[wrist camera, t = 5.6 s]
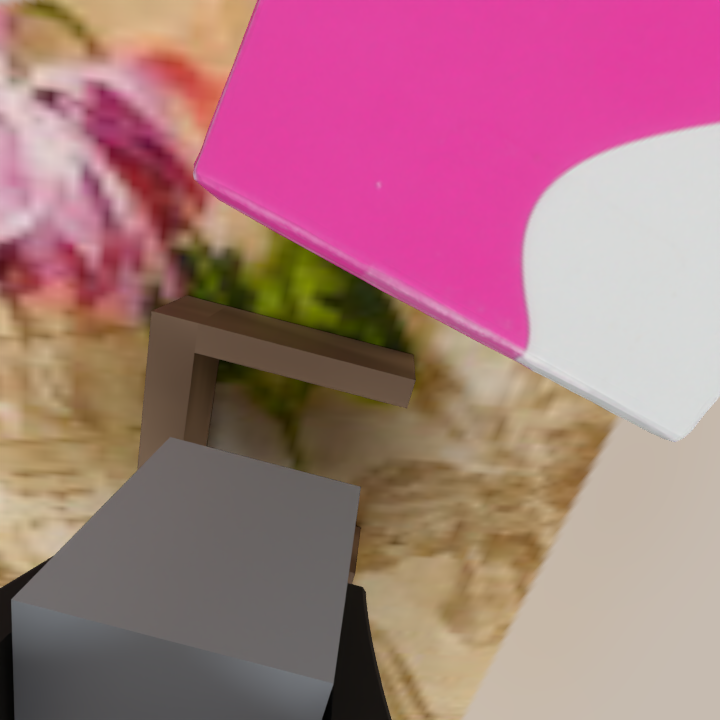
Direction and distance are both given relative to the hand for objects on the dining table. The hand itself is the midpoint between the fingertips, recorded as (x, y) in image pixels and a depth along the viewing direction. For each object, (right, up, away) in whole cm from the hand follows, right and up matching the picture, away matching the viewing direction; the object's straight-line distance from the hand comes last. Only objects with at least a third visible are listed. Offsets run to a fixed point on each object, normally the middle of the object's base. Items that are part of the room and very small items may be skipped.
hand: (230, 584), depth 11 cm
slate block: (0, +1, +1) cm, 2 cm away
